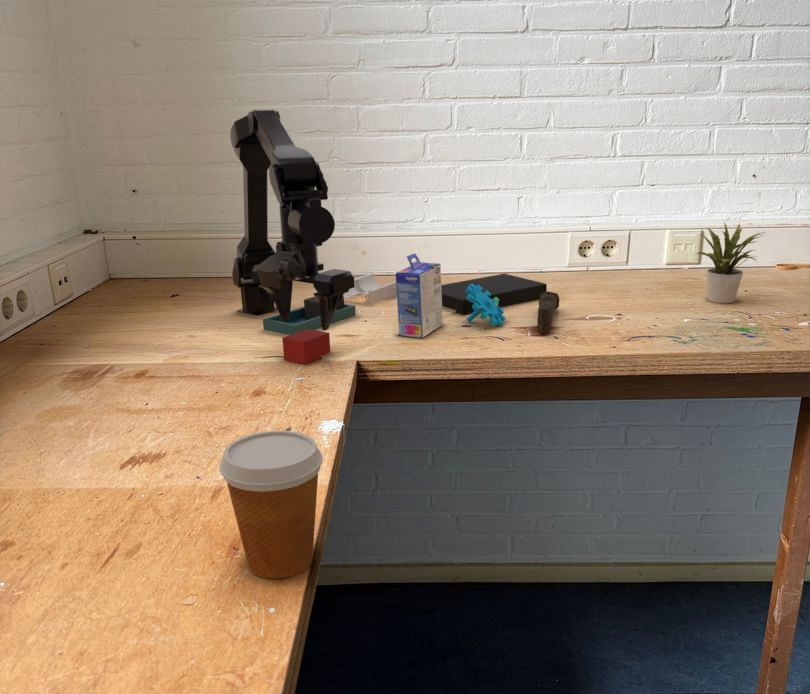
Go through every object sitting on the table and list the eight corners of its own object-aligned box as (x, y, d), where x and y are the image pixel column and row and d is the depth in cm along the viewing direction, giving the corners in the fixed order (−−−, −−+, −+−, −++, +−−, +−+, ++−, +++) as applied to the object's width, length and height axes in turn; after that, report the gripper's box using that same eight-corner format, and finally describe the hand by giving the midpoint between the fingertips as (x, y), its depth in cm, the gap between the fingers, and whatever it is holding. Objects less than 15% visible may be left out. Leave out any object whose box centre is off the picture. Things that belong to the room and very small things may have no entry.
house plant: (763, 312, 159) (774, 230, 153) (689, 308, 163) (697, 227, 157) (758, 295, 171) (768, 219, 166) (689, 292, 176) (697, 217, 170)
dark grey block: (305, 319, 160) (303, 299, 159) (326, 312, 165) (325, 293, 164) (323, 322, 158) (322, 302, 156) (344, 315, 162) (343, 296, 161)
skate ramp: (372, 305, 171) (371, 282, 170) (323, 298, 178) (322, 276, 176) (409, 291, 183) (408, 269, 182) (361, 285, 190) (361, 264, 188)
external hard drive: (422, 301, 174) (422, 288, 172) (503, 286, 186) (503, 273, 185) (463, 314, 162) (463, 300, 161) (546, 297, 175) (547, 283, 174)
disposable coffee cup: (211, 578, 75) (197, 463, 71) (262, 529, 84) (252, 423, 80) (300, 597, 72) (291, 478, 68) (345, 544, 80) (339, 435, 76)
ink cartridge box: (417, 322, 158) (416, 249, 153) (443, 325, 156) (442, 251, 151) (396, 335, 150) (393, 259, 145) (423, 338, 147) (421, 261, 142)
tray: (263, 331, 154) (262, 319, 153) (324, 311, 168) (323, 300, 167) (295, 338, 149) (294, 325, 149) (356, 317, 163) (355, 305, 162)
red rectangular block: (283, 359, 137) (282, 337, 136) (309, 350, 142) (308, 328, 141) (305, 364, 135) (303, 342, 133) (330, 354, 140) (329, 332, 138)
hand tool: (539, 309, 165) (540, 287, 164) (559, 310, 164) (559, 288, 163) (527, 335, 148) (528, 311, 147) (549, 336, 147) (550, 311, 145)
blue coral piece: (494, 324, 149) (462, 283, 151) (472, 343, 152) (441, 302, 154) (517, 318, 158) (487, 279, 160) (496, 336, 161) (467, 298, 163)
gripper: (223, 237, 131) (232, 329, 136) (307, 247, 120) (313, 346, 125) (272, 227, 139) (279, 314, 144) (354, 236, 128) (358, 329, 134)
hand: (305, 325), depth 137 cm, fingers open, 9 cm apart
